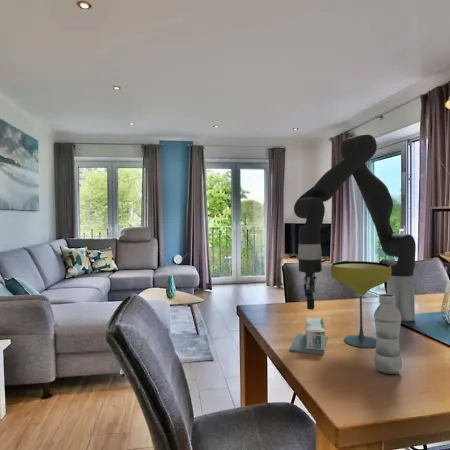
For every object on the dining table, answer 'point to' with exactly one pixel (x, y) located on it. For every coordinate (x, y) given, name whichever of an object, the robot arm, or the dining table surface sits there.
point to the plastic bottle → (387, 335)
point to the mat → (304, 345)
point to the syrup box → (315, 334)
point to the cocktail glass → (361, 288)
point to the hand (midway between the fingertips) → (310, 308)
